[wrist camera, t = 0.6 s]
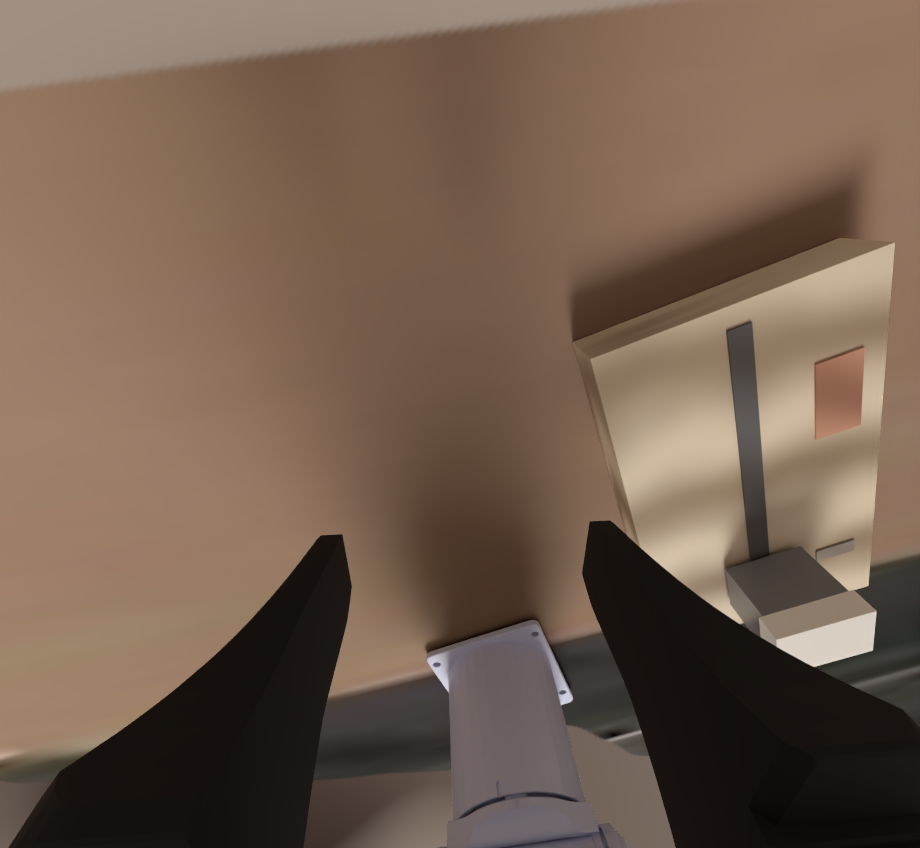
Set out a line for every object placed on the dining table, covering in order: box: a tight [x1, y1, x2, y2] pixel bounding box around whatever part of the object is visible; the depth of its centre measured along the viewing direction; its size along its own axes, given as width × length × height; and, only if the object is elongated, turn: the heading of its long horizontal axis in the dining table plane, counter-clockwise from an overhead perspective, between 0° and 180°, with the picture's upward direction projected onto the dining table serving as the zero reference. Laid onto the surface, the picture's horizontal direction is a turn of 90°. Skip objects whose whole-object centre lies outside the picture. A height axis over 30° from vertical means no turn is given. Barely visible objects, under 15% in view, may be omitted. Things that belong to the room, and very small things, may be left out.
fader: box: [725, 546, 876, 667], centre depth 22 cm, size 3×4×4 cm
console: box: [573, 238, 895, 624], centre depth 23 cm, size 20×12×3 cm, turn 22°
